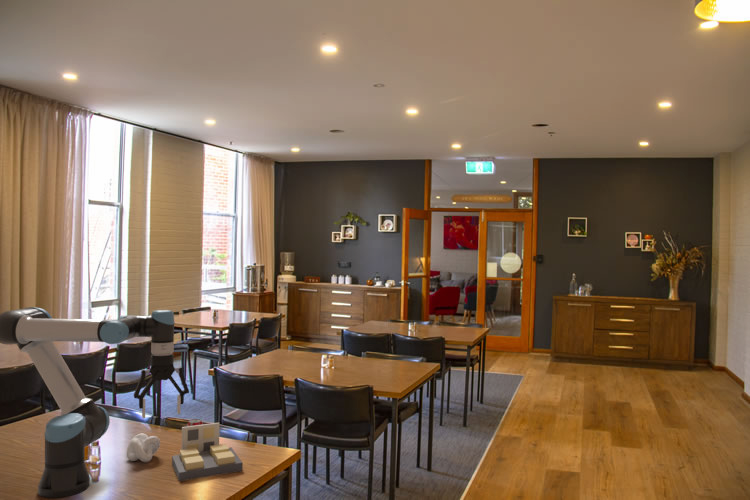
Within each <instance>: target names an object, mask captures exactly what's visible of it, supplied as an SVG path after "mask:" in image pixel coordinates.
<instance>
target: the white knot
mask: <svg viewBox="0 0 750 500" xmlns="http://www.w3.org/2000/svg"><path fill="white" fill-rule="evenodd" d="M160 446H161V440H160V438H159V437H158V436H156V435H151V436H148V435H147V434H146V433H141V432H140V433H138V434H136V435H134V436H133V438H132V439H131V440H130V441H129V443H128V446H127V450H126V458H127V459H128V461H130V462H135V461H138V460H140V461H141V462H143V463H148V462H150V461H151V460H152V459H153V455H155V454H156V453H157V452H158V450H159V449H160Z"/></svg>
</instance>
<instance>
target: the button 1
mask: <svg viewBox="0 0 750 500" xmlns="http://www.w3.org/2000/svg"><path fill="white" fill-rule="evenodd" d="M179 455H180V460H181V462H183V458H187V457H194V456H199V452H198V450H197V448H192V449H185V450H182V449H180V450H179Z"/></svg>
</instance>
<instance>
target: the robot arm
mask: <svg viewBox="0 0 750 500" xmlns="http://www.w3.org/2000/svg"><path fill="white" fill-rule="evenodd" d="M134 338H151V340H150V341H151V344H150V345H151V346H150V347H151V348H150V350H151V351H150V352H151V356H150V368H149V369H145V368H142V369H141V370H140V371H141V373H140V378H139V380H138V382H137V385H136V388H135V390H134V393H133V397H134V399H138V407H139V409H141V410H142V411H141V412H142V413H141V417H142V419H146V398H145V397H146V395H148V392H149V391H150V389H151V388H152V386H153V385H154V383H156V381H157V382H159V381H160V382H161V381H167V380H169V381H170V382H171V384H172V386H173V387H175V389H176V390H177V392H178V393H179V394H177V397H176V398H177V400H176V401H177V403H176V413H177V415H181V408H182V407H181V405H183V404H184V401H185V398H184V397H185V395H186V394H189V393H190V390H189V387H188V385H187V382H186V378H185V377H184V373H183V372H184V369H183V367H182V366H181V365H180V366H178V367H177V366H176V367H175V366H174V365H175V364H174V359H175V358H174V357H175V356H174V352H175V351H174V350H175V348H174V346H175V345H174V341H175V314H174V311H172V310H170V309H157V310H153V311H151V315H132V314H128V315H121V316H119V317H118V318H117V319H97V318H95V319H94V318H93V319H92V318H89V319H87V318H82V319H81V318H53V317H52V316H51V314H50V313H49V312H48V311H47V310H46V309H43V308H42V307H41V308H40V307H33V306H30V307H24V308H19V309H13V310H6V311H3V312H1V313H0V344H3V345H10V346H11V345H16V346H17V347H18V349H19V350H20V352H22V353H26V354H27V355H28V356H29V358H30V359H31V361H32V362H33V363H32V364H34V367H35V368H36V370H37V371H38V373H39V375H40V377H41V379H42V380H43V382H44V383H45V385H46V387H47V389H48V390H49V392H50V394H51V396H52V397H53V399H54V400H55V403H56V404H57V406H58V407H59V409H60V410H61V413H60V414H59V415H57V416H55V417H53V418H51V419H50V420H49V421H48V422H47V423H46V424H45V431H44V468H43V471H42V475H41V477H40V480H39V484H38V486H37V488H38V490H37V494H38V495H39V496H40V497H42V498H48V499H53V498H54V499H56V498H65V497H69V496H74V495H77V494H79V493H82V492H84V491H85V490H87V489H88V488H89V487H90V485H91V478H90V474H89V472H88V469H87V466H86V464H85V463H86V462H85V453H86V451H85V450H86V449H85V448H86V447H88V446H90V445H91V444H93V443H94V442H96V441H97V440H99V439H101V438H102V437H103V436H104V435H105V434H106V432H107V431H108V429H109V426H110V423H111V422H110V415H109V412H108V411H107V410H106V409H105V408H104V407H102V406H101V405H100V406H99V405H96V403H95V401H94V399H93V398H89V397H87V396H85V394H84V392H83V390H82V388H81V387H80V385H79V383H78V382H77V380H76V378H75V376H74V375H73V373H72V371H71V370H70V368H69V366H68V364H67V363H66V362H65V360H64V358H63V356H62V354H61V353H60V351H59V349H58V347H57V346H56V344H55V342H79V343H80V342H82V343H83V342H84V343H85V342H87V343H88V342H89V343H90V342H91V343H106V344H108V345H117V344H121V343H122V342H125V341H127V340H130V339H134ZM175 372H176V374H178V377H179V379H180V381H181V384H182V387H183V389H182V388H181V387H180V385H178V383H177V382H176V380H175V379H174V377H173V376H172V375H173V374H174V373H175ZM148 374H150V375H151V377H150V379H149V381H148V383H147V384H146V385H145V387H144V388H143V390H142V391H141V389H142V387H143V384H144V382H145V379H146V377H147V376H148Z"/></svg>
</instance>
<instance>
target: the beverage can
mask: <svg viewBox="0 0 750 500" xmlns="http://www.w3.org/2000/svg"><path fill="white" fill-rule="evenodd" d="M203 424H204V422H203V421H202V419H201V418H192V419H189V420H188V423H187V424H186V427H187V426H195V425H203Z"/></svg>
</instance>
